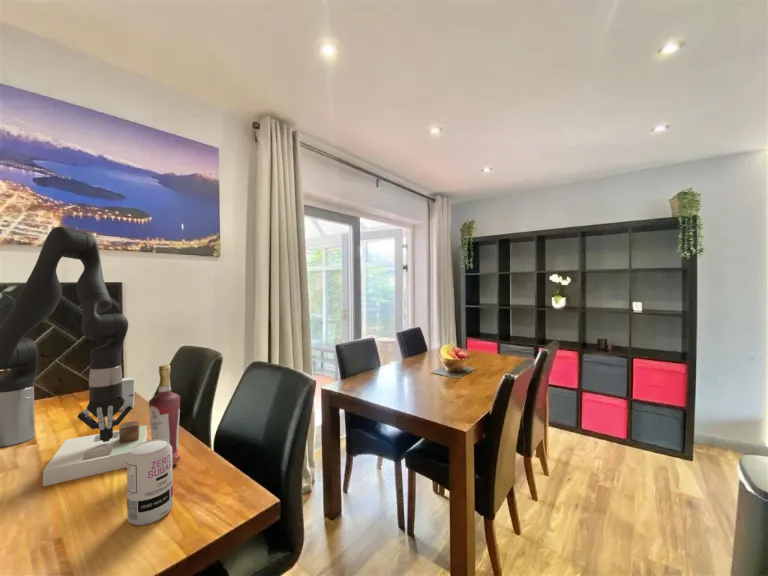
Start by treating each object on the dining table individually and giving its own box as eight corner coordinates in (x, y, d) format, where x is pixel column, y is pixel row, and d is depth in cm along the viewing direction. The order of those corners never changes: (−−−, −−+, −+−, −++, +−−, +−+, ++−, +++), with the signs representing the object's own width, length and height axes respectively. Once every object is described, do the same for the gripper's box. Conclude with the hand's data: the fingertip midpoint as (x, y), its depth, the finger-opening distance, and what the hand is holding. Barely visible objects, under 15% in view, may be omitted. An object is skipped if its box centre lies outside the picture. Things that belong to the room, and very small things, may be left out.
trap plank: (43, 486, 84) (42, 470, 84) (66, 452, 101) (66, 439, 101) (140, 464, 95) (140, 450, 95) (146, 437, 112) (146, 425, 112)
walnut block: (119, 443, 98) (119, 428, 98) (121, 438, 102) (121, 423, 102) (138, 440, 101) (138, 425, 101) (139, 434, 105) (139, 420, 105)
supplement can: (142, 503, 77) (142, 438, 77) (180, 501, 78) (179, 437, 78) (117, 528, 69) (117, 456, 69) (159, 526, 70) (159, 454, 70)
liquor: (186, 461, 96) (186, 364, 96) (162, 475, 89) (161, 370, 89) (168, 457, 98) (167, 362, 98) (143, 470, 91) (142, 368, 91)
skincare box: (115, 411, 135) (115, 381, 135) (116, 408, 139) (116, 379, 139) (134, 408, 139) (133, 379, 139) (135, 405, 143) (134, 376, 143)
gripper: (135, 375, 105) (135, 430, 105) (79, 382, 98) (79, 441, 98) (132, 381, 99) (132, 440, 99) (72, 388, 92) (73, 451, 92)
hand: (106, 440), depth 99 cm, fingers closed
